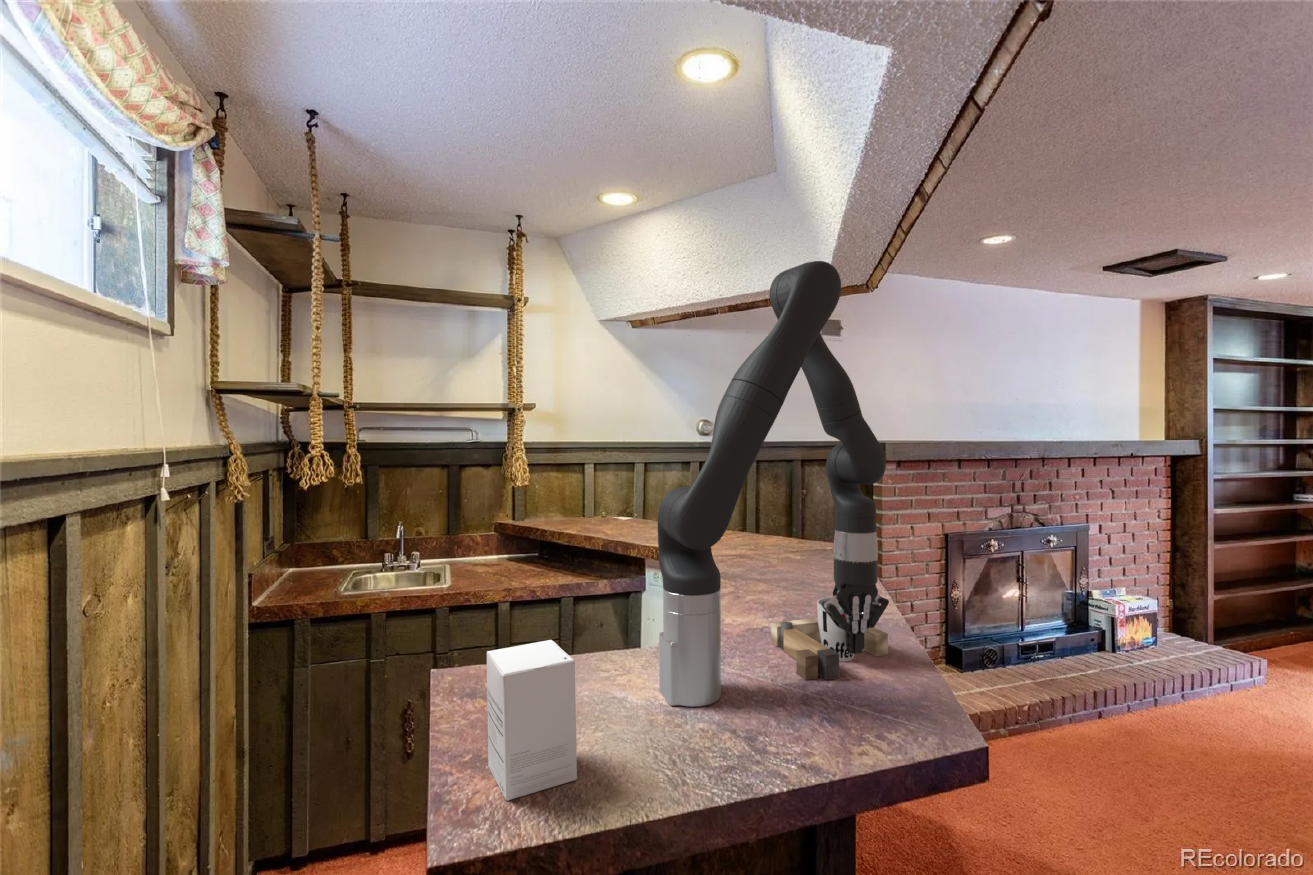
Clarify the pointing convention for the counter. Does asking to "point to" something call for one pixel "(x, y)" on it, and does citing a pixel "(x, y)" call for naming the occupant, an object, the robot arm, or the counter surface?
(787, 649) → the leg
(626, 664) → the counter surface
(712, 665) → the robot arm
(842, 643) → the cup
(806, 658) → the jointed wooden sticks
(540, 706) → the supplement box
